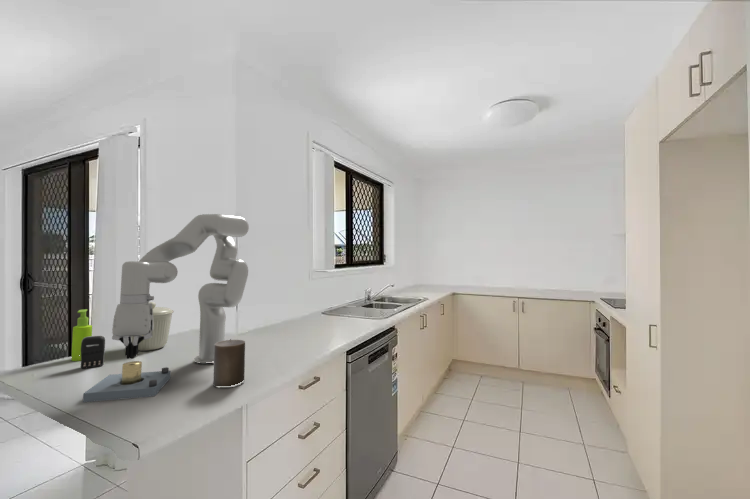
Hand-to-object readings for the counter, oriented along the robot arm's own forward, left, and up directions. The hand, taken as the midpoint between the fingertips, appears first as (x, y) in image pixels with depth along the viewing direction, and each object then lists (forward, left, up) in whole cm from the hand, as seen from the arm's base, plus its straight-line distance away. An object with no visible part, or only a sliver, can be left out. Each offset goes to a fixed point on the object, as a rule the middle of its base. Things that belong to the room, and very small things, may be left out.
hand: (131, 357), depth 106 cm
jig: (0, 0, -10) cm, 10 cm away
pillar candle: (-29, +2, -10) cm, 31 cm away
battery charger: (+22, -27, -10) cm, 36 cm away
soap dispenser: (+31, -39, -10) cm, 51 cm away
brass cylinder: (0, 0, -10) cm, 10 cm away
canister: (+11, -52, -10) cm, 54 cm away
